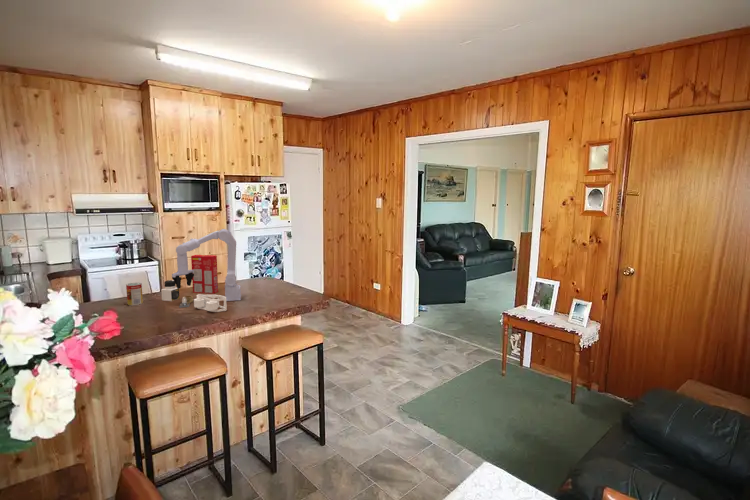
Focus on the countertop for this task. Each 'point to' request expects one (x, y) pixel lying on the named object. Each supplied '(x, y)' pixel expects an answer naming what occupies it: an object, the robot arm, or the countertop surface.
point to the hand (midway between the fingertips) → (183, 286)
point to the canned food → (134, 293)
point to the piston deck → (184, 303)
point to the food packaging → (204, 274)
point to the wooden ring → (189, 298)
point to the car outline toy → (210, 302)
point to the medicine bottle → (170, 291)
